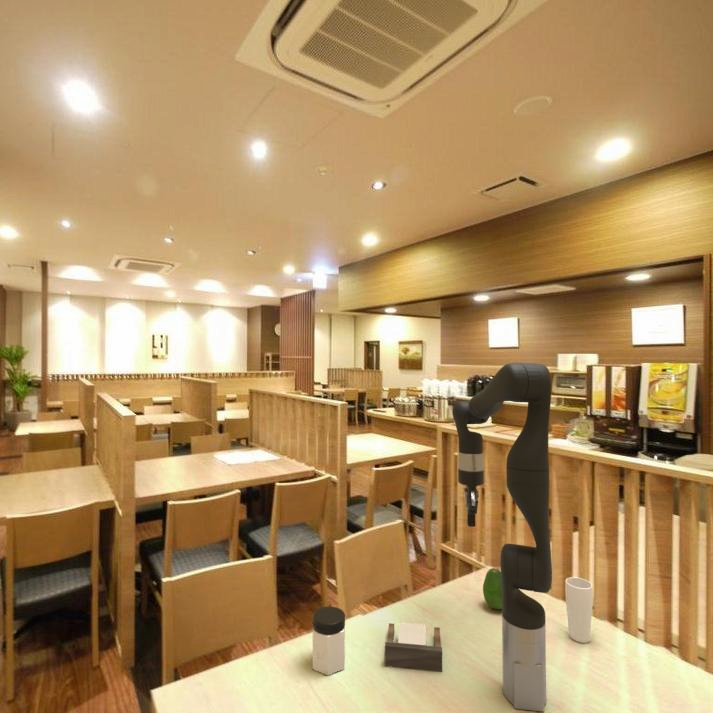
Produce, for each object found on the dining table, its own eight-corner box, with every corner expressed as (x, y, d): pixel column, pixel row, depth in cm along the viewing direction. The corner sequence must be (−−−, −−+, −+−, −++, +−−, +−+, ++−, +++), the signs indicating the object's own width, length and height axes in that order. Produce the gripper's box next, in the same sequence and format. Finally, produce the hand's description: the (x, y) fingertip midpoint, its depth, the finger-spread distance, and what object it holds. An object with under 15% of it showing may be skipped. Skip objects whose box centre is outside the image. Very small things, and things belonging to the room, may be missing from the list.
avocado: (477, 604, 136) (477, 565, 137) (497, 599, 139) (497, 561, 140) (495, 618, 129) (494, 577, 129) (515, 612, 132) (515, 572, 132)
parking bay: (442, 671, 106) (442, 651, 106) (385, 666, 108) (384, 645, 108) (439, 636, 120) (439, 618, 120) (388, 632, 122) (388, 614, 122)
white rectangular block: (426, 664, 109) (425, 645, 109) (398, 661, 110) (397, 642, 110) (425, 641, 118) (425, 624, 118) (399, 639, 119) (399, 622, 119)
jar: (304, 667, 108) (304, 618, 108) (323, 648, 115) (323, 602, 115) (335, 680, 103) (335, 628, 104) (352, 660, 110) (352, 612, 111)
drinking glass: (587, 631, 122) (586, 577, 123) (598, 646, 116) (597, 589, 116) (562, 629, 123) (561, 576, 123) (571, 645, 116) (570, 588, 117)
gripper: (487, 473, 123) (487, 534, 123) (480, 463, 136) (481, 518, 136) (460, 472, 124) (460, 533, 124) (456, 462, 138) (456, 517, 137)
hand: (471, 525), depth 130 cm, fingers closed
